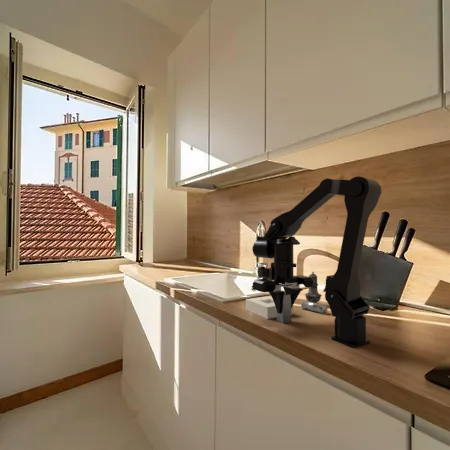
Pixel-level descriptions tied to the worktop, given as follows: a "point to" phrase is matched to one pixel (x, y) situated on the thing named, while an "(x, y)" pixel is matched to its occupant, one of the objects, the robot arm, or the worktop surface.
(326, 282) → the robot arm
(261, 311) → the socket block
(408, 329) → the worktop surface
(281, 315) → the square bit
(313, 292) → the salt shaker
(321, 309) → the round bit
